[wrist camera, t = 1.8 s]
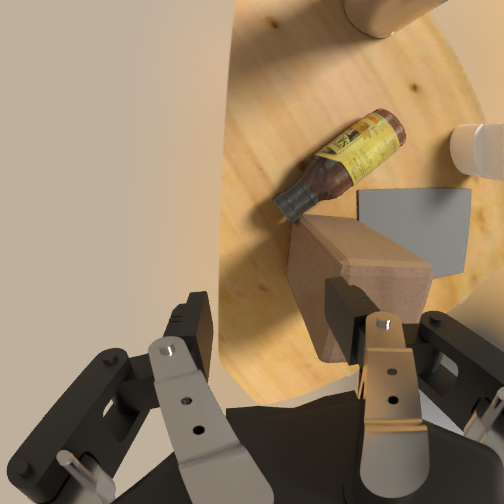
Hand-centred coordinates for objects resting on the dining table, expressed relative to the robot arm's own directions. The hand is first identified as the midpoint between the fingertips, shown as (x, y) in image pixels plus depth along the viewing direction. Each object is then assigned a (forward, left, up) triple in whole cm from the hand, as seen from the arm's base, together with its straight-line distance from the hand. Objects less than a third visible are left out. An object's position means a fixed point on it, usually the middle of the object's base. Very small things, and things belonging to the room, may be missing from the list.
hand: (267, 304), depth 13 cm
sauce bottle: (-11, +21, -25) cm, 34 cm away
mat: (+7, +28, -27) cm, 40 cm away
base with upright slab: (-8, +39, -28) cm, 49 cm away
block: (+7, +10, -28) cm, 30 cm away
